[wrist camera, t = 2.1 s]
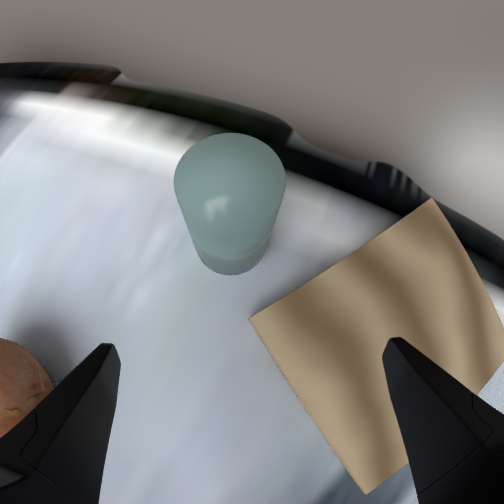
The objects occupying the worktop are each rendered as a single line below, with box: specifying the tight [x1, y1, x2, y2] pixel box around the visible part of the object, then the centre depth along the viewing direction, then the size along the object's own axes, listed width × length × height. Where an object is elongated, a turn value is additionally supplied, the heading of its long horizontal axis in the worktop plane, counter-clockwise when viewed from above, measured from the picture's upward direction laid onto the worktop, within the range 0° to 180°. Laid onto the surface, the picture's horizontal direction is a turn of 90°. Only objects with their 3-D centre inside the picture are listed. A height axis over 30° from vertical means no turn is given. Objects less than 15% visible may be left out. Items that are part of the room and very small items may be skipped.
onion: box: [0, 338, 54, 438], centre depth 16 cm, size 10×9×10 cm
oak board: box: [249, 198, 504, 495], centre depth 23 cm, size 20×18×2 cm
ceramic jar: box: [174, 133, 286, 275], centre depth 20 cm, size 6×6×10 cm
